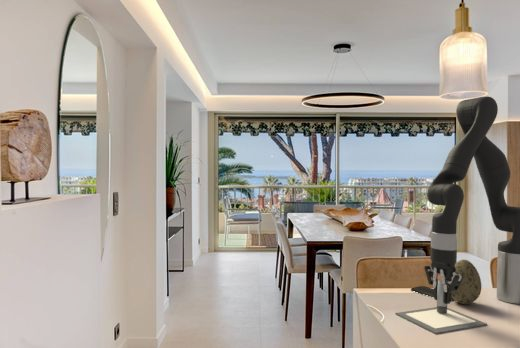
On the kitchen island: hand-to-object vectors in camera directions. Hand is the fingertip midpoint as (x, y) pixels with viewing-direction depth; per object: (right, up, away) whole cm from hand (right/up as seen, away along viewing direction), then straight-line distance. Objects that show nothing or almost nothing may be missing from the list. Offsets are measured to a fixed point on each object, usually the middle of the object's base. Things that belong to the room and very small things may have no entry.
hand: (442, 301), depth 124 cm
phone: (+7, -5, +21) cm, 23 cm away
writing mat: (-3, -4, -4) cm, 6 cm away
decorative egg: (+13, -5, +12) cm, 18 cm away
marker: (0, -3, 0) cm, 3 cm away
